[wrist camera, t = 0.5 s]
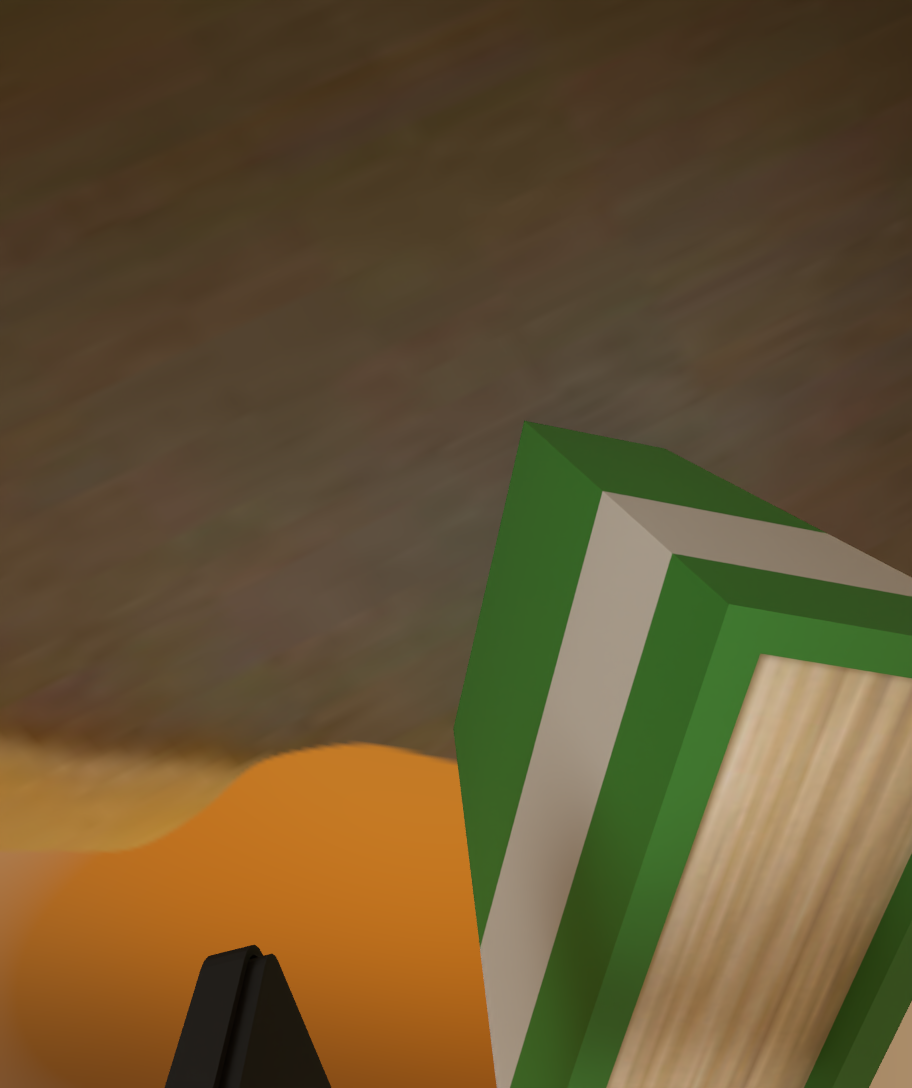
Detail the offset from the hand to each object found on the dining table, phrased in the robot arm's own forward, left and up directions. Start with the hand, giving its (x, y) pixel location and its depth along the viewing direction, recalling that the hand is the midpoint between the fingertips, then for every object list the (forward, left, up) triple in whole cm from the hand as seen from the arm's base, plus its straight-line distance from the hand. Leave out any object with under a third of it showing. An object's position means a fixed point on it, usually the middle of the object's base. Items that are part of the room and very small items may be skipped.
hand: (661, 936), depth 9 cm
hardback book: (+8, +3, -30) cm, 31 cm away
